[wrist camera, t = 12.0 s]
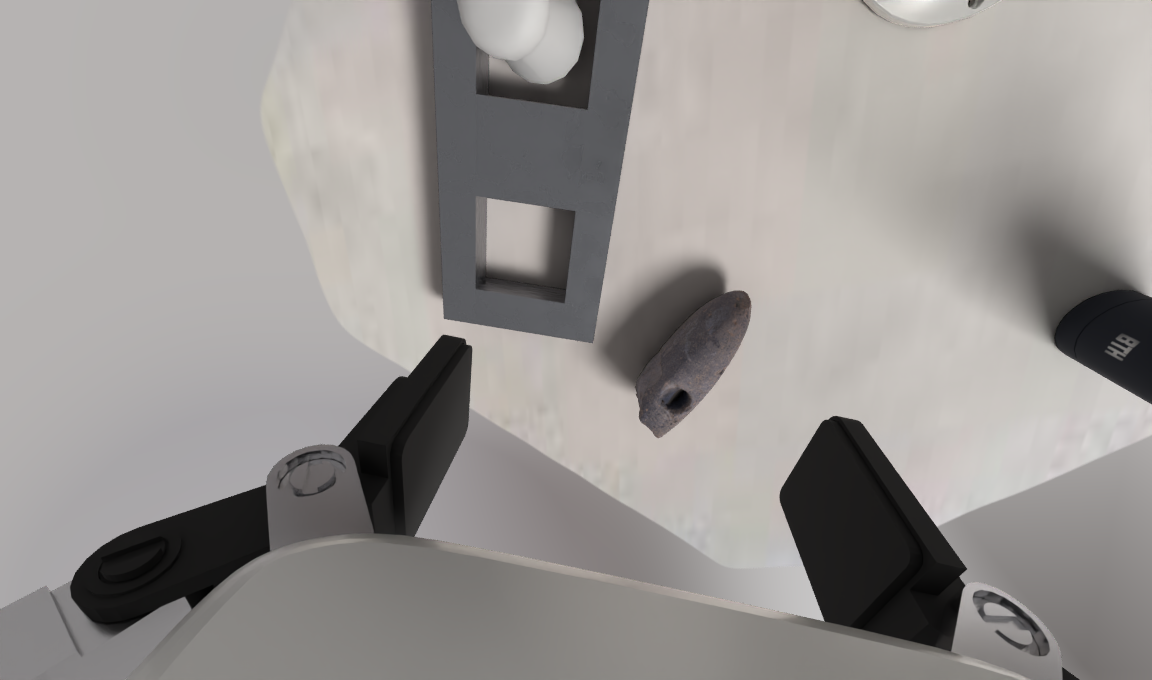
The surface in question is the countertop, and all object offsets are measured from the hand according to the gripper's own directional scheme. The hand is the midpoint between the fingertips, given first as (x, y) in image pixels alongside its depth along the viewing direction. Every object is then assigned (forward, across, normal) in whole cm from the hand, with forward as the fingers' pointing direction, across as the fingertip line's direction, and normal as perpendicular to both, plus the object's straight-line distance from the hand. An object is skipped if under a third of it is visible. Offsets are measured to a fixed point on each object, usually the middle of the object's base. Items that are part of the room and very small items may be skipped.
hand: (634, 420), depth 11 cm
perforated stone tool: (+28, -8, +12) cm, 31 cm away
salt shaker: (+28, +9, -10) cm, 31 cm away
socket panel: (+28, +8, -3) cm, 29 cm away
